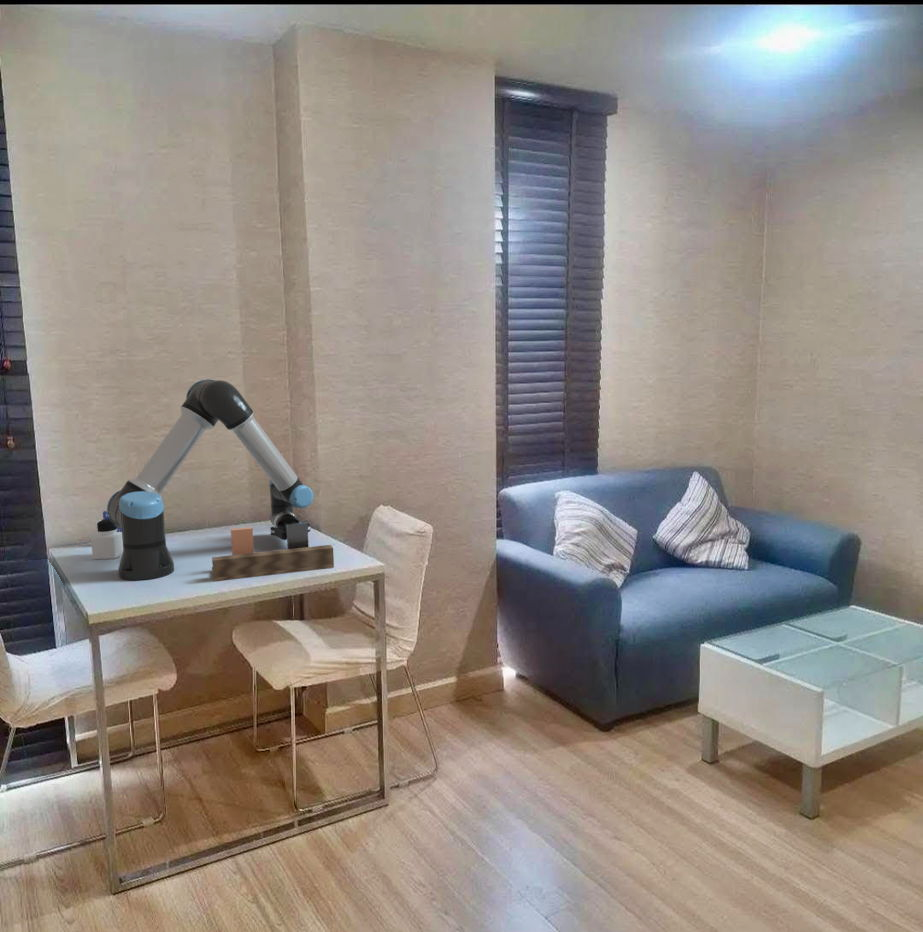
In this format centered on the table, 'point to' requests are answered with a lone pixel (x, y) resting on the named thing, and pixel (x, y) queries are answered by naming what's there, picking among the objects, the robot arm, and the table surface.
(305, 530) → the grey rectangular slab
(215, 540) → the table surface
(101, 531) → the medicine bottle
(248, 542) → the terracotta key
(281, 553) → the brown piece
